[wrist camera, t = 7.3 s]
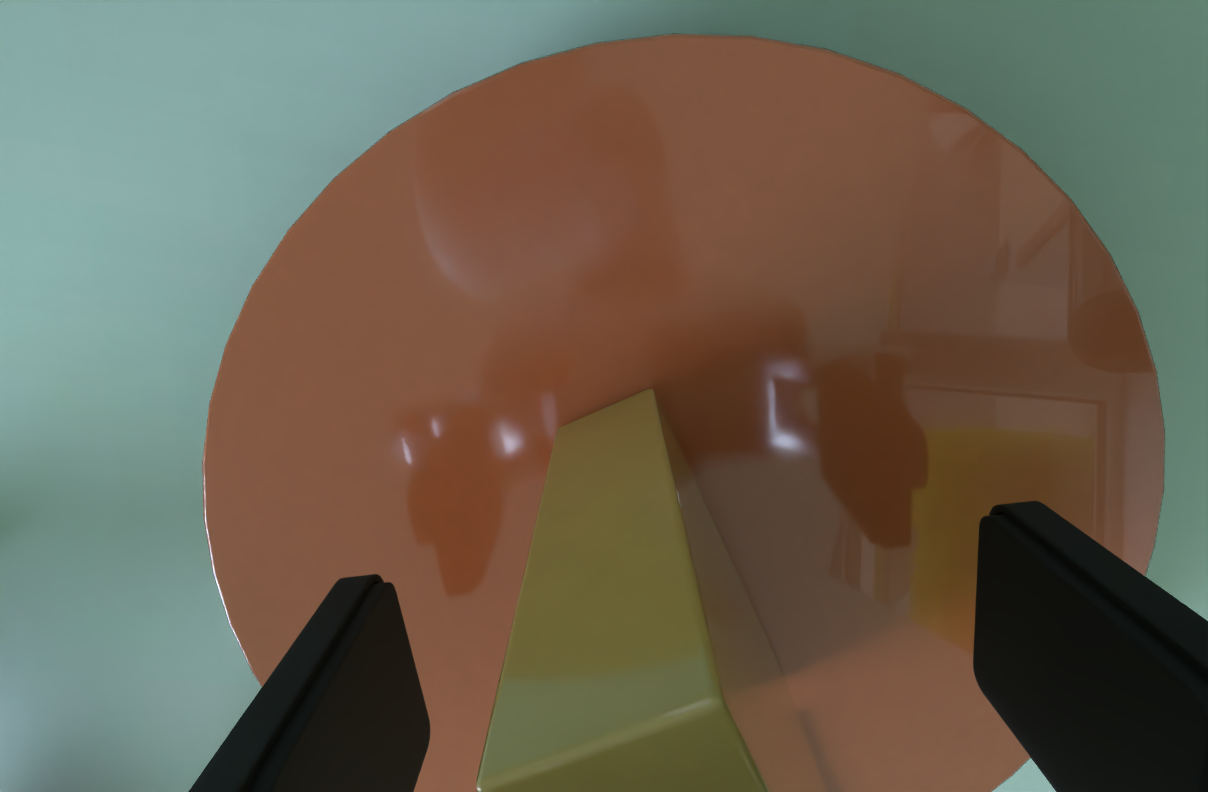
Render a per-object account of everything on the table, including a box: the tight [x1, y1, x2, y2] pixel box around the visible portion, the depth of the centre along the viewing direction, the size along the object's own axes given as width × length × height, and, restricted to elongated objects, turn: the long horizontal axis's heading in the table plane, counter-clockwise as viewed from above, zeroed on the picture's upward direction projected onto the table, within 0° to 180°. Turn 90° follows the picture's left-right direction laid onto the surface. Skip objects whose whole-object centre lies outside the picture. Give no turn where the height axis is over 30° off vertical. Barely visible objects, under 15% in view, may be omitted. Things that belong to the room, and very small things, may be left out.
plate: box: [202, 33, 1165, 792], centre depth 9 cm, size 17×17×8 cm
